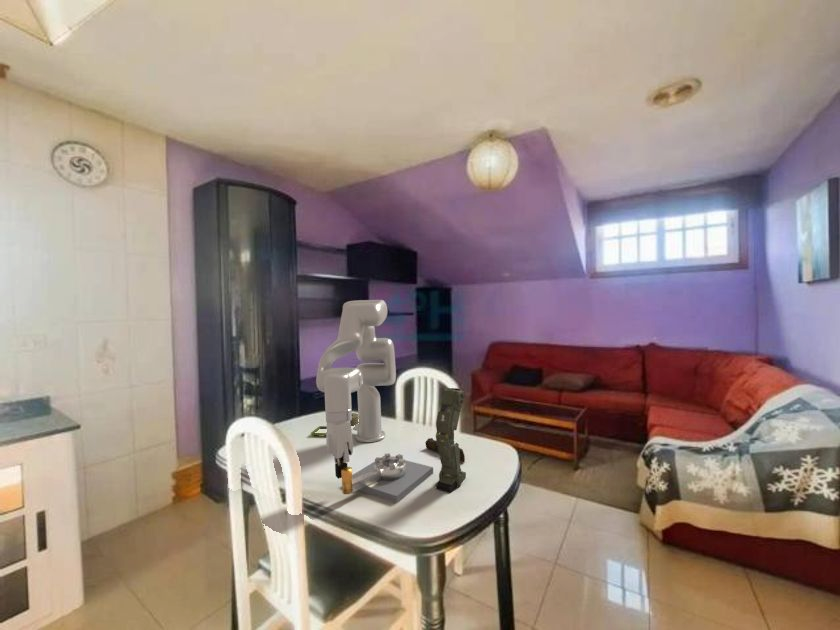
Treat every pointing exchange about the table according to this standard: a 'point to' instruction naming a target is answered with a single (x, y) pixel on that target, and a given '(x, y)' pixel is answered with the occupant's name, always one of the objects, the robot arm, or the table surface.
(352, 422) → the flange
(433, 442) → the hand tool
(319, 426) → the green rectangular frame
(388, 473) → the crank handle
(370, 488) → the nut plate
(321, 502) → the table surface
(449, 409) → the mechanical leg
